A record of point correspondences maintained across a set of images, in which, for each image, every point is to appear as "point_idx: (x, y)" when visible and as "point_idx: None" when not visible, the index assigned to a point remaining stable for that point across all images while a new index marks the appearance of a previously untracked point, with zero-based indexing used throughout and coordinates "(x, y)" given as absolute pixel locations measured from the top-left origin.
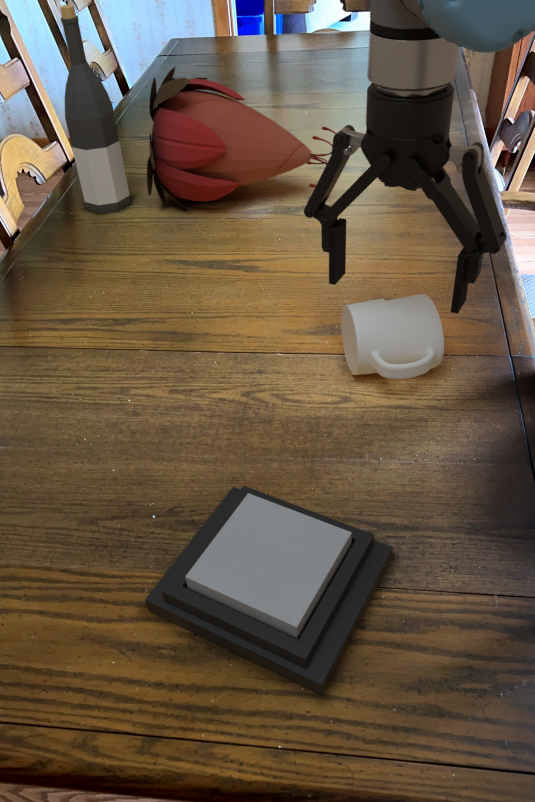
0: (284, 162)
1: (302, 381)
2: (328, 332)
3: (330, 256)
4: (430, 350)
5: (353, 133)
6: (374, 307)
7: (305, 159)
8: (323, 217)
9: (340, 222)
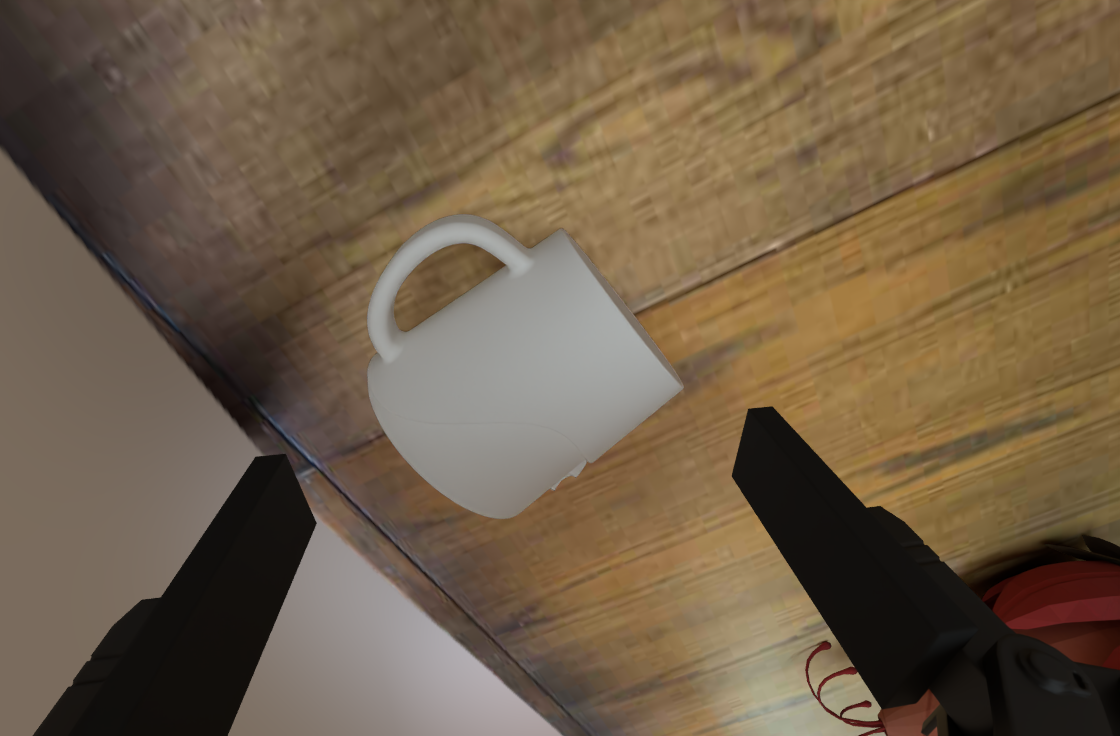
0: (930, 701)
1: (690, 171)
2: (691, 366)
3: (843, 491)
4: (386, 351)
5: None
6: (588, 402)
7: (890, 717)
8: (1083, 700)
9: (912, 685)
